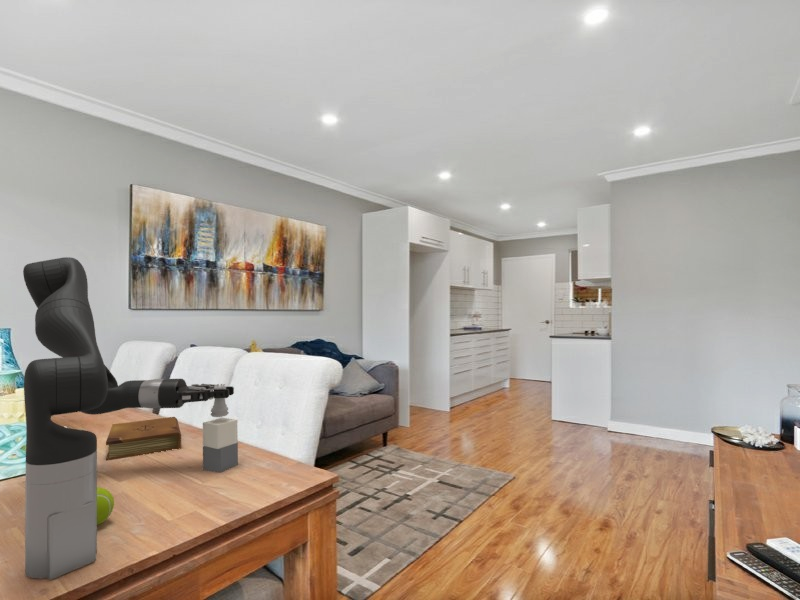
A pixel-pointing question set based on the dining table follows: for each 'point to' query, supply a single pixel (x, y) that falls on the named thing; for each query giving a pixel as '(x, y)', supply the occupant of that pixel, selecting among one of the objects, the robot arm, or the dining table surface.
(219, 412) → the rook chess piece
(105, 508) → the tennis ball
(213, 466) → the tower base
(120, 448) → the diary
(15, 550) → the dining table surface
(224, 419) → the tower top
